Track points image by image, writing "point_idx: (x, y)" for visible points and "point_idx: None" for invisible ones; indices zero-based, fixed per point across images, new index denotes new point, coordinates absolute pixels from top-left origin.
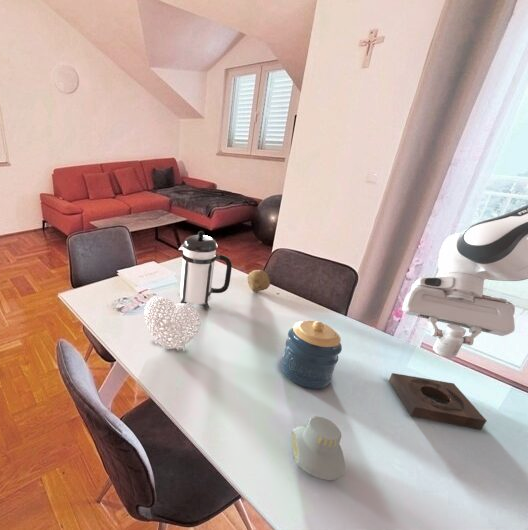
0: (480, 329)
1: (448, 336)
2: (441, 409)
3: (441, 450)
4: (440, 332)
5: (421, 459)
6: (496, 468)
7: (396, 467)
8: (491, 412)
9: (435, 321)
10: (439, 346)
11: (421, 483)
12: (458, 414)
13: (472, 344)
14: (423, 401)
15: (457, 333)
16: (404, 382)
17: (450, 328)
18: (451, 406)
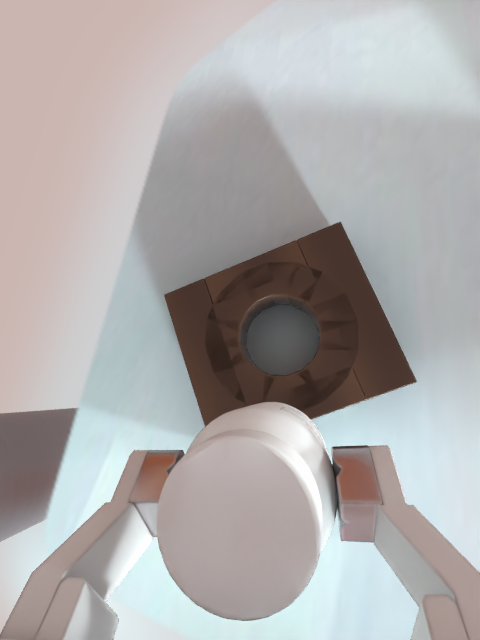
0: (17, 614)
1: (288, 438)
2: (270, 262)
3: (275, 161)
4: (348, 474)
5: (318, 102)
6: (179, 186)
7: (367, 43)
8: (134, 407)
9: (444, 597)
10: (312, 424)
11: (321, 40)
12: (229, 271)
13: (136, 452)
14: (316, 268)
15: (235, 434)
16: (371, 343)
17: (296, 469)
18: (241, 299)
